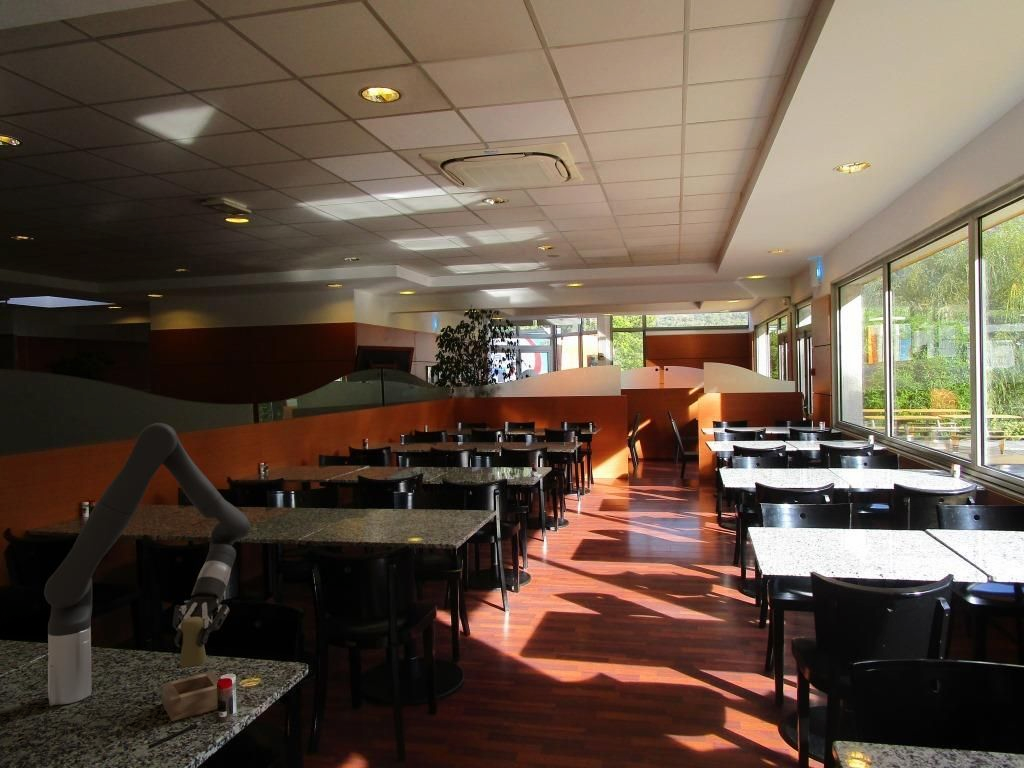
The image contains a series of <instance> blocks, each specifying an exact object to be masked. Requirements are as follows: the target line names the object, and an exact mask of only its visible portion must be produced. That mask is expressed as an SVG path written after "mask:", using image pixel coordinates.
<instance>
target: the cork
mask: <svg viewBox="0 0 1024 768" xmlns="http://www.w3.org/2000/svg"><path fill="white" fill-rule="evenodd" d="M203 624H204V621H203V619H202V618H201V617H189V618H186V619H184V620H183V619H182V623H181V630H182V632H183V641H182V646H181V652H180V658H179V659H180V661H179V667H182V668H194V667H199V666H202V665H204V664H205V663H206V662H207V654H206V649H205V644H204V645H203V647H199V646H198V645H197V640H198V638H199V635H200V632H201V629H203Z"/></svg>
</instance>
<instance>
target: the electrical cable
mask: <svg viewBox="0 0 1024 768" xmlns="http://www.w3.org/2000/svg"><path fill="white" fill-rule="evenodd" d="M199 725H200V726H201V725H202V723H201V722H200V721H199V722H195V723H194V724H191V725H189V726H187V727H186V728H184V729H182V730H179V731H176V732H174V733H172V734H170V735H167V736H165V737H163V738H161V739H159V740H157V741H155V742H152V743H151V744H148V745H147V749H154V748H156V747H157V746H159V745H161V744H164V743H165V742H167V741H170V740H172V739H174V738H176V737H179V736H182V735H184V734H185V733H187V732H189V731H191V730H194V729H195V727H196V728H197V727H200V726H199Z"/></svg>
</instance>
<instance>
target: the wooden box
mask: <svg viewBox="0 0 1024 768" xmlns="http://www.w3.org/2000/svg"><path fill="white" fill-rule="evenodd" d="M219 679H220V678H219V677H218V676H217V674H216V673H215V672H214V671H208V672H205V673H202V674H196V675H191V676H188V677H185V678H184V677H183V678H179V679H177V680H173V681H172V680H171V681H168V682H164V683H162V684H161V690H162V693H161V694H162V695H161V696H162V698H161V699H162V700H161V701H162V702H161V703H162V706H163V707H164V709H165V711H166V713H167V715H168V716H169V719H170V721H171V722H175V721H178V720H183V719H186V718H189V717H192V716H197V715H200V714H204V713H208V712H211V711H215V710H218V709H217V703H218V702H217V701H218V698H217V683H218V680H219Z"/></svg>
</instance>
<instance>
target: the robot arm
mask: <svg viewBox="0 0 1024 768" xmlns="http://www.w3.org/2000/svg"><path fill="white" fill-rule="evenodd" d="M162 465H163V466H164V467H165V468H166V469H167V471H169V473H170V474H171V476H172V477H173V478H174V480H175V481H176V482H177V484H178V486H179V487H180V488H181V490H182V492H183V493H184V494H185V497H187V499H188V501H190V503H191V504H192V505H193V506H194V508H195V509H196V510H197V511H198V512H199V514H200V516H202V517H203V518H205V519H207V520H211V519H215V520H216V521H218V522H217V523H216V524H215V525H214V528H213V529H212V531H211V534H210V540H209V551H208V554H207V556H206V559H205V560H204V564H203V566H202V568H201V569H200V572H199V574H198V576H197V579H196V582H195V583H194V584H195V585H194V587H193V590H192V592H191V596H190V600H189V601H187V603H186V604H184V605H180V604H176V605H175V606H174V611H173V616H172V617H173V618H172V626H173V628H174V629H175V630H176V631H177V633H176V635H175V637H174V644H175V646H177V647H178V648H182V641H183V632H182V630H181V623H182V621H183V620H184V619H186V618H189V617H201V618H202V619H203V621H204V624H203V629H201V632H200V635H199V638H198V640H197V645H198V646H199V647H203V645H204V646H205V645H206V644H207V641H208V638H209V635H210V633H211V632H213V631H218V630H219V629H220V628H221V626H222V624H223V623H224V622H225V620H226V617H228V615H229V613H230V608H229V606H228V605H227V604H225V603H224V604H221V602H222V601H223V597H224V595H225V591H226V589H227V586H228V584H229V580H230V577H231V571H232V568H233V565H234V564H235V560H236V557H237V551H236V549H235V548H234V547H233V545H234V543H236V542H238V541H239V540H242V539H243V538H245V537H247V536H248V535H249V533H250V531H251V523H250V519H248V517H247V515H245V513H244V512H242V511H241V510H240V509H238V508H237V507H236V506H234V505H233V504H232V503H230V502H229V501H227V500H226V499H225V498H224V497H223V496H222V495H221V493H220V492H219V491H218V490H217V488H216V487H215V485H214V484H213V483H212V482H211V481H210V480H209V479H208V478H207V476H206V475H205V474H204V473H203V472H202V470H200V468H199V467H198V466H197V464H195V463H194V461H193V460H192V458H191V457H190V456H189V455H188V453H187V451H186V449H185V448H184V447H183V444H182V443H181V441H180V438H179V437H178V434H177V431H176V430H175V429H174V427H172V426H171V425H169V424H167V423H164V422H156V423H151V424H149V425H147V426H146V427H144V428H143V429H142V430H141V432H140V433H139V435H138V437H137V439H136V441H135V444H134V447H132V451H131V452H130V454H129V456H128V458H127V460H126V462H125V464H124V466H123V467H122V468H121V470H120V471H119V473H117V475H116V476H115V477H114V479H112V481H111V482H110V484H109V485H108V486H107V487H106V489H105V490H104V491H103V493H102V495H101V496H100V498H99V499H98V500H97V502H96V503H95V506H94V507H93V508H92V510H91V512H90V513H89V515H88V517H87V519H86V520H85V523H84V524H83V526H82V529H81V530H80V531H79V534H78V536H77V538H76V540H75V542H74V544H73V546H72V548H70V549H71V550H70V551H69V552H68V553H67V555H66V557H65V558H63V561H62V562H61V563H60V564H59V566H58V567H57V569H56V570H55V571H54V572H53V574H52V575H51V576H50V577H49V578H48V579H47V581H46V583H45V586H44V591H43V592H44V598H45V600H46V602H47V603H48V604H49V605H50V606H51V607H50V616H49V619H48V623H47V637H48V638H47V641H48V644H47V645H48V652H47V654H48V656H47V657H48V661H47V682H48V683H47V688H48V693H47V694H48V697H47V698H48V704H49V706H50V707H52V706H56V705H58V706H59V705H60V706H61V705H68V704H73V703H76V702H80V701H82V700H85V699H86V698H88V697H90V696H91V694H92V644H91V643H92V634H91V631H92V629H91V628H92V627H91V620H92V613H93V578H92V577H93V574H94V573H95V571H96V569H97V567H98V565H99V564H100V562H101V561H102V559H103V557H104V556H105V555H106V554H107V553H108V551H109V550H110V549H111V548H112V547H113V545H114V544H115V543H116V542H117V540H119V538H120V537H121V535H122V534H123V533H124V531H125V530H126V528H127V526H128V525H129V523H130V522H131V521H132V518H133V517H134V515H135V514H136V512H137V510H138V508H139V506H140V504H141V503H142V500H143V498H144V497H145V494H146V491H147V489H148V486H149V485H150V482H151V480H152V478H153V477H154V475H155V474H156V472H157V471H158V470H159V469H160V467H161V466H162ZM186 611H187V612H186ZM215 614H216V615H215ZM214 615H215V617H214V618H213V616H214Z"/></svg>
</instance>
